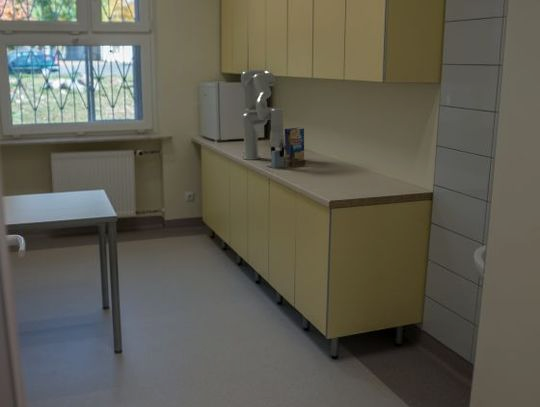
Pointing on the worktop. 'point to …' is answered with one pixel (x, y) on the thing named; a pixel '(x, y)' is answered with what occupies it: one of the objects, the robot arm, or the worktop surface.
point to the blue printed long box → (294, 143)
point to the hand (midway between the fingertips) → (277, 155)
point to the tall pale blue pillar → (276, 159)
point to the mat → (278, 167)
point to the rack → (294, 162)
